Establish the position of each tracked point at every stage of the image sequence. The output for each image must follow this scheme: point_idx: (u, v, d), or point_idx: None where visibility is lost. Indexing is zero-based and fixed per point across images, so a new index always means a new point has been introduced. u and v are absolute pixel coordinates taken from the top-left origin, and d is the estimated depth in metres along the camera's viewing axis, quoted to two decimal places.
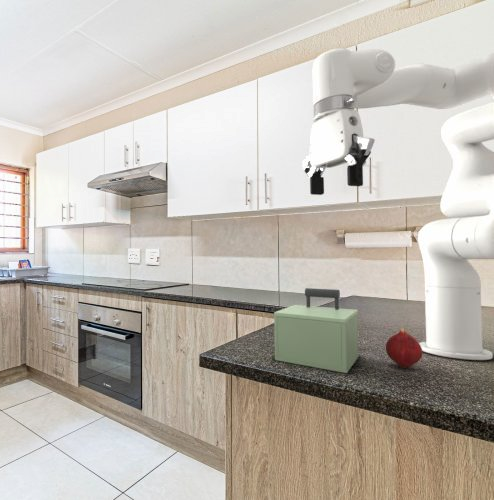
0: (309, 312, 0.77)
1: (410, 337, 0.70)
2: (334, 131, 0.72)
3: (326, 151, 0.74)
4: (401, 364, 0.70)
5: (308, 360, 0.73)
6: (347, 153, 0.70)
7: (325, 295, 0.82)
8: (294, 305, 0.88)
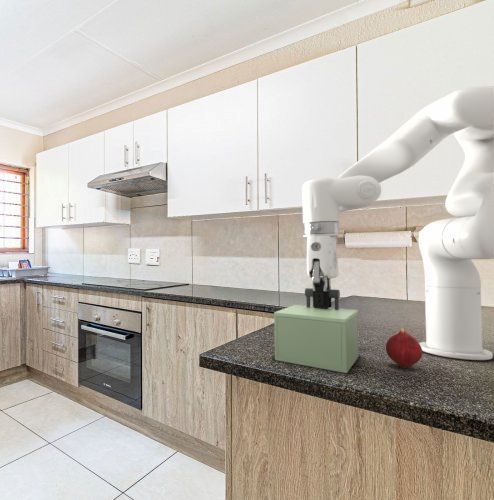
0: (309, 312, 0.77)
1: (410, 337, 0.70)
2: None
3: None
4: (401, 364, 0.70)
5: (308, 360, 0.73)
6: (309, 275, 0.81)
7: None
8: (294, 305, 0.88)
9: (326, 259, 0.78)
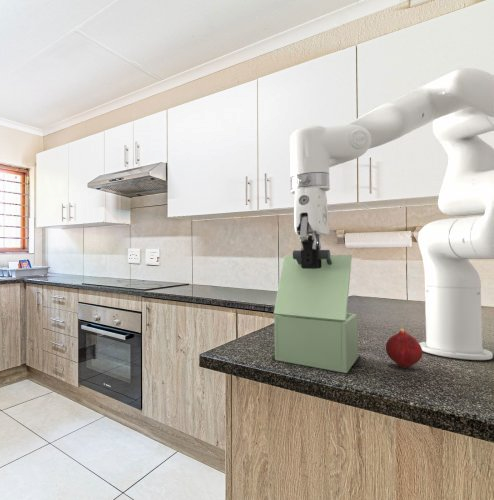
0: (306, 297, 0.75)
1: (410, 337, 0.70)
2: None
3: None
4: (401, 364, 0.70)
5: (308, 360, 0.73)
6: (296, 232, 0.74)
7: None
8: (285, 260, 0.83)
9: (315, 212, 0.71)
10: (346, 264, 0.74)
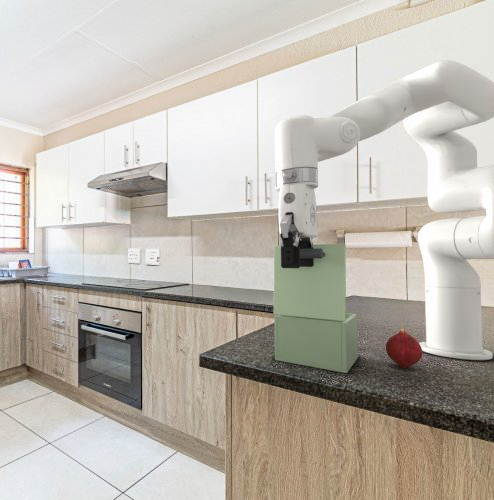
0: (303, 295, 0.74)
1: (410, 337, 0.70)
2: None
3: None
4: (401, 364, 0.70)
5: (308, 360, 0.73)
6: None
7: None
8: (275, 251, 0.78)
9: (301, 212, 0.64)
10: (340, 255, 0.70)
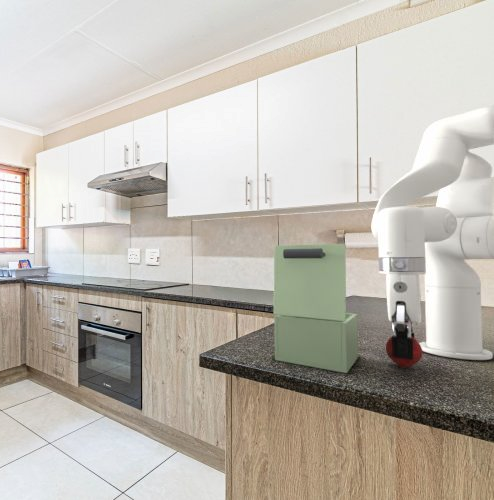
0: (303, 295, 0.74)
1: None
2: None
3: None
4: (401, 364, 0.70)
5: (308, 360, 0.73)
6: (391, 320, 0.69)
7: None
8: (275, 251, 0.78)
9: (414, 303, 0.66)
10: (340, 255, 0.70)
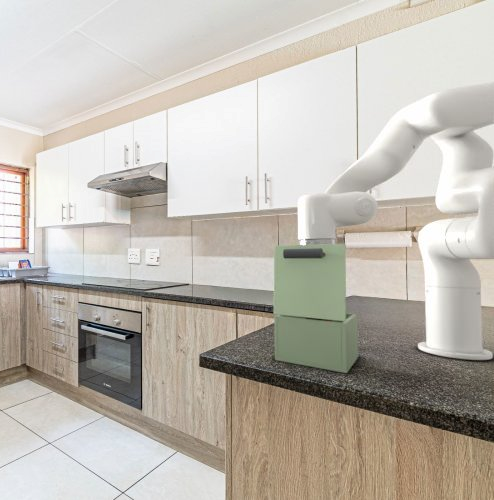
0: (303, 295, 0.74)
1: None
2: None
3: None
4: None
5: (308, 360, 0.73)
6: None
7: None
8: (275, 251, 0.78)
9: None
10: (340, 255, 0.70)
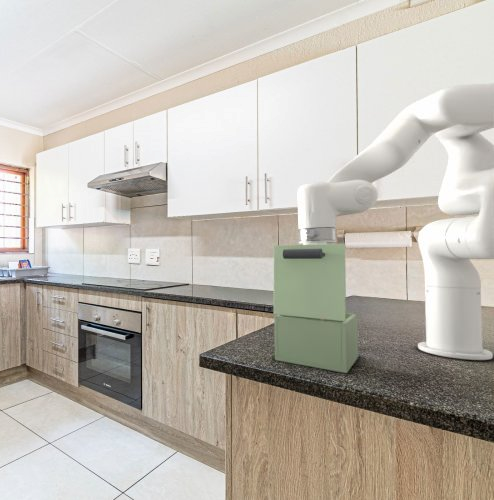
0: (303, 295, 0.73)
1: None
2: None
3: None
4: None
5: (308, 360, 0.73)
6: None
7: None
8: (275, 251, 0.78)
9: None
10: (340, 255, 0.69)
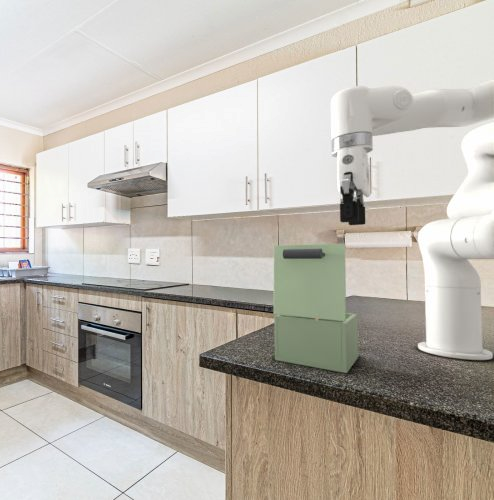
0: (303, 295, 0.73)
1: None
2: None
3: None
4: None
5: (308, 360, 0.73)
6: (340, 192, 0.74)
7: None
8: (275, 251, 0.78)
9: (360, 171, 0.71)
10: (340, 255, 0.69)
